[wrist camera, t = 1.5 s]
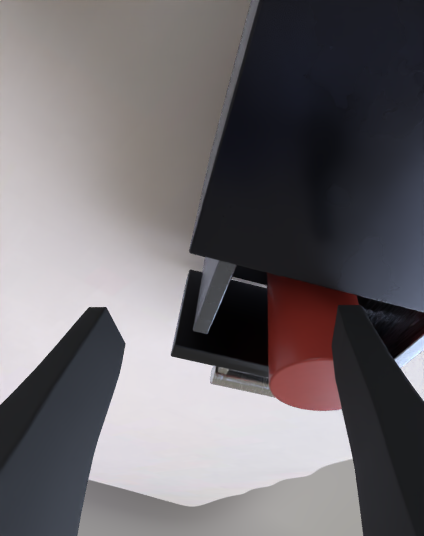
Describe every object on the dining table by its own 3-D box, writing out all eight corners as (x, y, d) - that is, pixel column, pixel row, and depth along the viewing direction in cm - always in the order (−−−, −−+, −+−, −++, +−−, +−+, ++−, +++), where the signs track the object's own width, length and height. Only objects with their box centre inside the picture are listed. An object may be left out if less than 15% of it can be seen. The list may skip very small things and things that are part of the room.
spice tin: (362, 246, 19) (402, 374, 14) (324, 297, 22) (344, 418, 17) (284, 225, 18) (293, 349, 13) (256, 280, 22) (254, 399, 16)
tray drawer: (327, 355, 28) (339, 430, 24) (174, 319, 27) (158, 392, 23) (501, 167, 16) (582, 251, 12) (242, 88, 15) (236, 152, 11)
